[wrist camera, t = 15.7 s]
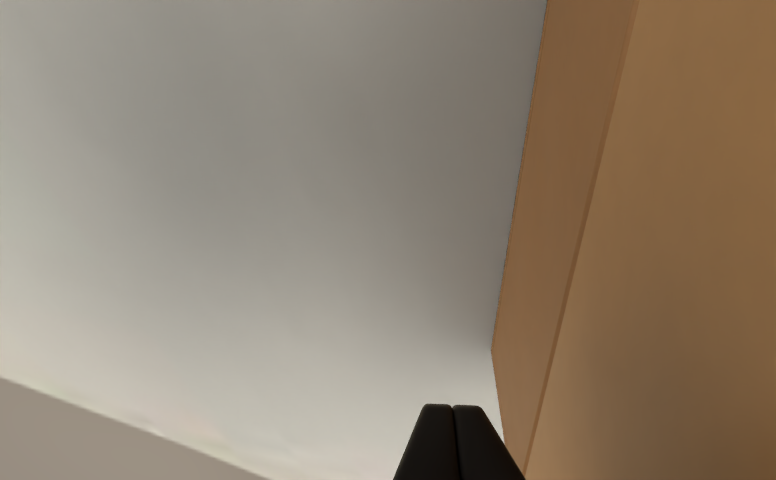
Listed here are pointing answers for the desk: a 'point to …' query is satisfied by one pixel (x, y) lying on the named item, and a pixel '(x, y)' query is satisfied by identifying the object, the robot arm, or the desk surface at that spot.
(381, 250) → the desk surface
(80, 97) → the desk surface
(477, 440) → the robot arm
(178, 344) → the desk surface
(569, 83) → the carton
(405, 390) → the desk surface
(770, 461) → the flap
